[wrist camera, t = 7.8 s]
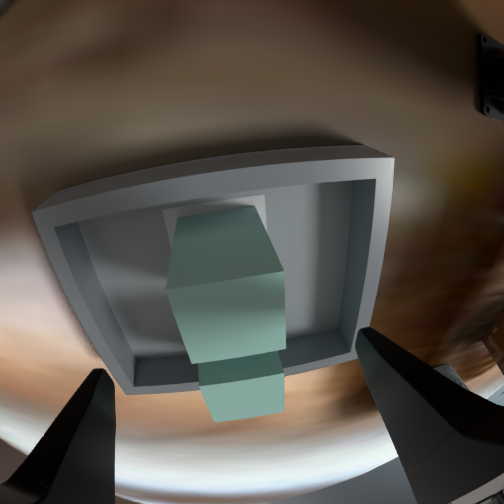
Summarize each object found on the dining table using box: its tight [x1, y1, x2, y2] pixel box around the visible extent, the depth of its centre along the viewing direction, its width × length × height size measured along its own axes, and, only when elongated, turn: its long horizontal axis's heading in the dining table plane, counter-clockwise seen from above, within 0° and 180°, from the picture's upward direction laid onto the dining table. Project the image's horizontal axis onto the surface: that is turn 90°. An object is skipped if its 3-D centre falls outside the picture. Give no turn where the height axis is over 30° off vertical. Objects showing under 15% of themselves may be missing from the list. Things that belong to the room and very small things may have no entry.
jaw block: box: [166, 206, 286, 364], centre depth 13 cm, size 4×4×6 cm
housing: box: [32, 145, 395, 422], centre depth 15 cm, size 17×14×6 cm
